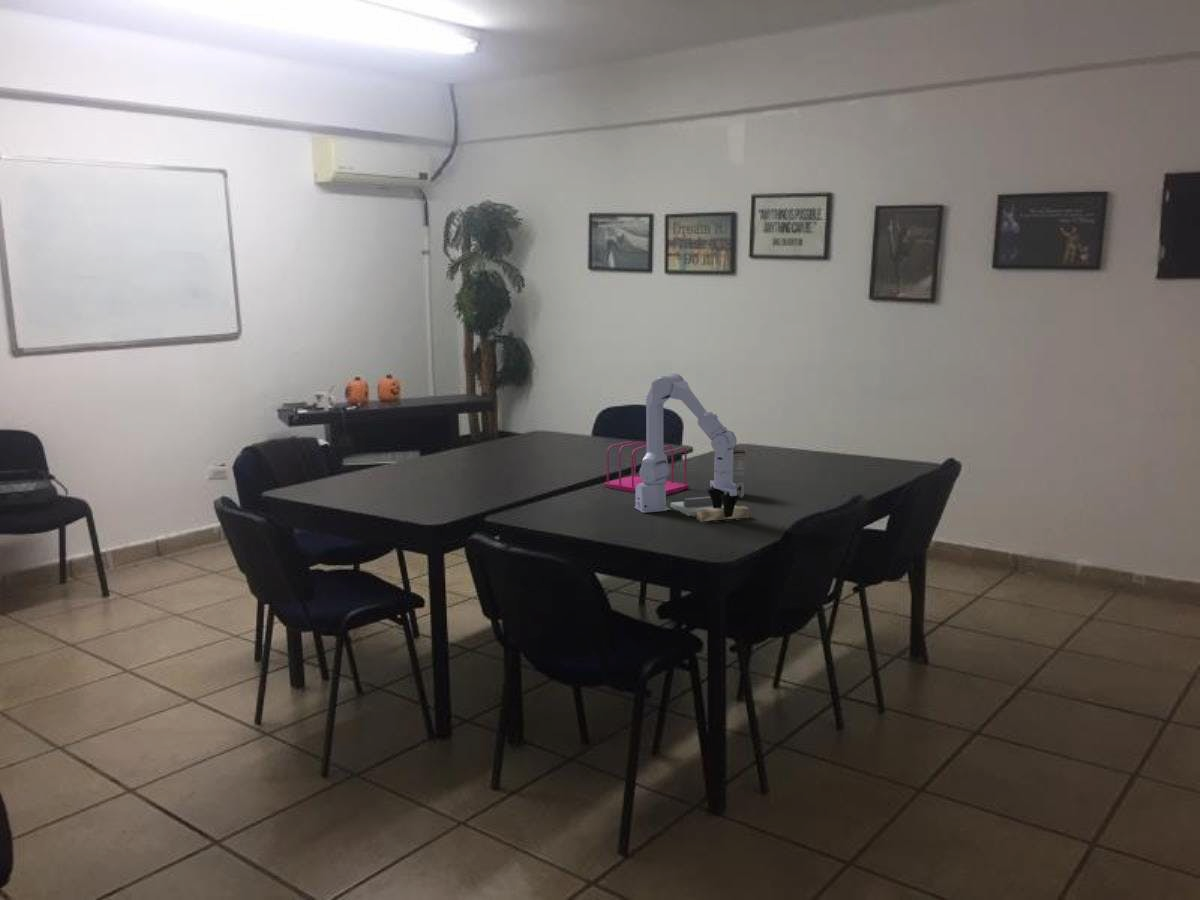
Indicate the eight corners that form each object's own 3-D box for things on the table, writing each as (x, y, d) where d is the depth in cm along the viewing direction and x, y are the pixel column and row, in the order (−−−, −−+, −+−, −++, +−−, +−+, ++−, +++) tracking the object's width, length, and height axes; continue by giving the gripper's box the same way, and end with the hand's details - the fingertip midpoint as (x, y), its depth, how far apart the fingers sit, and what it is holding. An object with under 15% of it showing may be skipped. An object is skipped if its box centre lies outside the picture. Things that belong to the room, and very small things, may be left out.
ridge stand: (688, 516, 300) (688, 504, 300) (670, 507, 314) (670, 495, 313) (739, 512, 306) (740, 499, 306) (720, 502, 319) (720, 490, 319)
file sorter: (659, 497, 328) (660, 452, 325) (603, 487, 344) (603, 444, 341) (689, 489, 341) (690, 445, 338) (634, 480, 357) (634, 438, 354)
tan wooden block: (701, 523, 294) (701, 512, 293) (696, 520, 297) (696, 509, 296) (748, 519, 299) (748, 508, 298) (743, 516, 302) (743, 505, 301)
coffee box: (715, 493, 333) (716, 447, 330) (731, 491, 336) (732, 446, 333) (727, 498, 325) (728, 451, 322) (744, 497, 327) (745, 450, 324)
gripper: (746, 474, 290) (745, 518, 292) (724, 465, 303) (724, 507, 306) (725, 476, 287) (724, 520, 290) (704, 467, 301) (703, 509, 303)
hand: (722, 513), depth 297 cm, fingers open, 7 cm apart
